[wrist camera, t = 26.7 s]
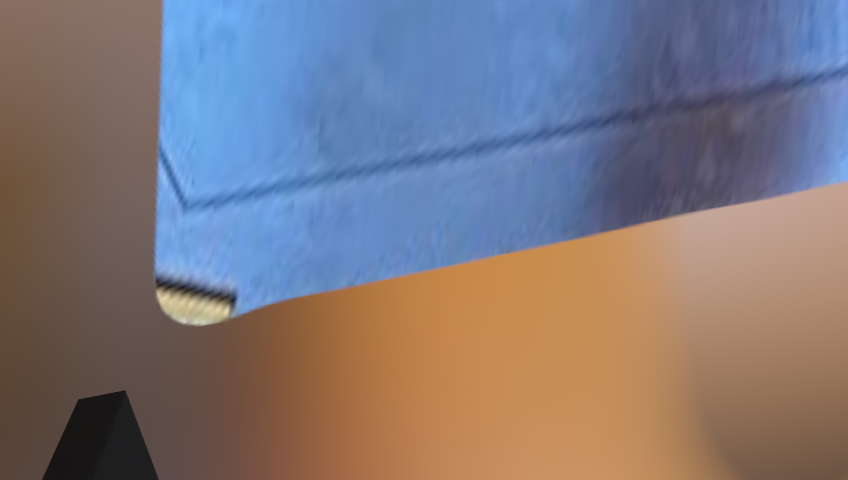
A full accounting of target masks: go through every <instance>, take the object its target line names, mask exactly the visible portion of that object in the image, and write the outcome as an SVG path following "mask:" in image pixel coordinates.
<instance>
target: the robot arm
mask: <svg viewBox="0 0 848 480" xmlns="http://www.w3.org/2000/svg"><path fill="white" fill-rule="evenodd" d="M42 480H159V479H158V476H157V474H156V471H155V468H154V466H153V463H152V461H151V458H150V455H149V452H148V450H147V447H146V444H145V442H144V439H143V437H142V434H141V431H140V428H139V426H138V423H137V420H136V418H135V415H134V412H133V410H132V407H131V405H130V402H129V399H128V397H127V394H126V391H120V392H114V393H109V394H104V395H99V396H94V397H89V398H84V399H79V400H78V402H77V404H76V406H75V408H74V411H73V413H72V415H71V417H70V419H69V421H68V424H67V426H66V428H65V430H64V432H63V435H62V437H61V439H60V441H59V444H58V446H57V448H56V450H55V452H54V455H53V457H52V459H51V461H50V463H49V466H48V468H47V470H46V472H45V474H44V477H43V479H42Z"/></svg>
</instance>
